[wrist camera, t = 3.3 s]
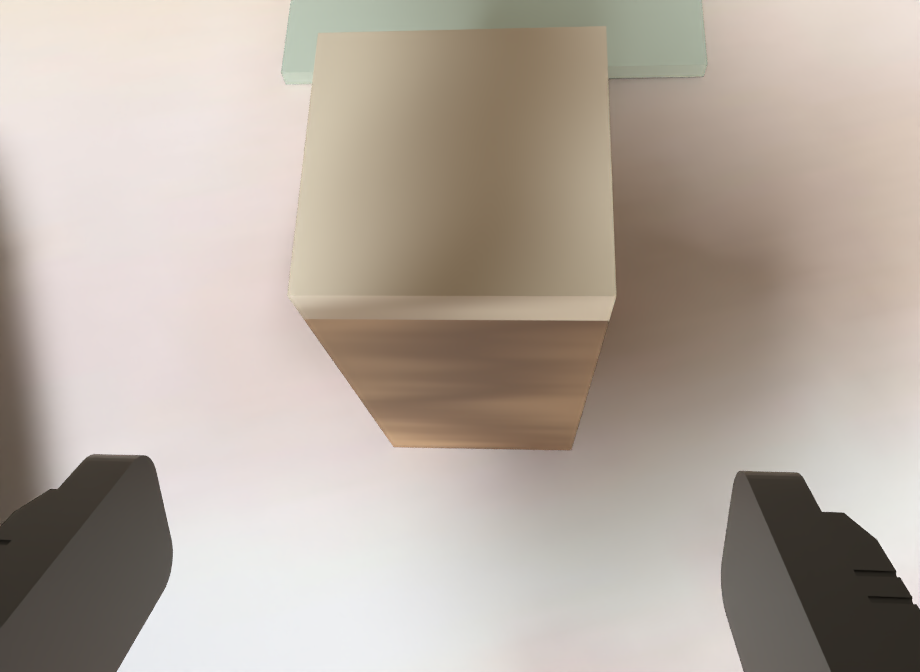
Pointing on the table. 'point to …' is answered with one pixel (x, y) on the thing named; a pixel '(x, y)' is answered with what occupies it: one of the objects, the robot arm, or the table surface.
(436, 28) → the rubber mat
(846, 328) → the table surface
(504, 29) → the walnut block
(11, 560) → the robot arm
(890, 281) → the table surface
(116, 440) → the table surface
